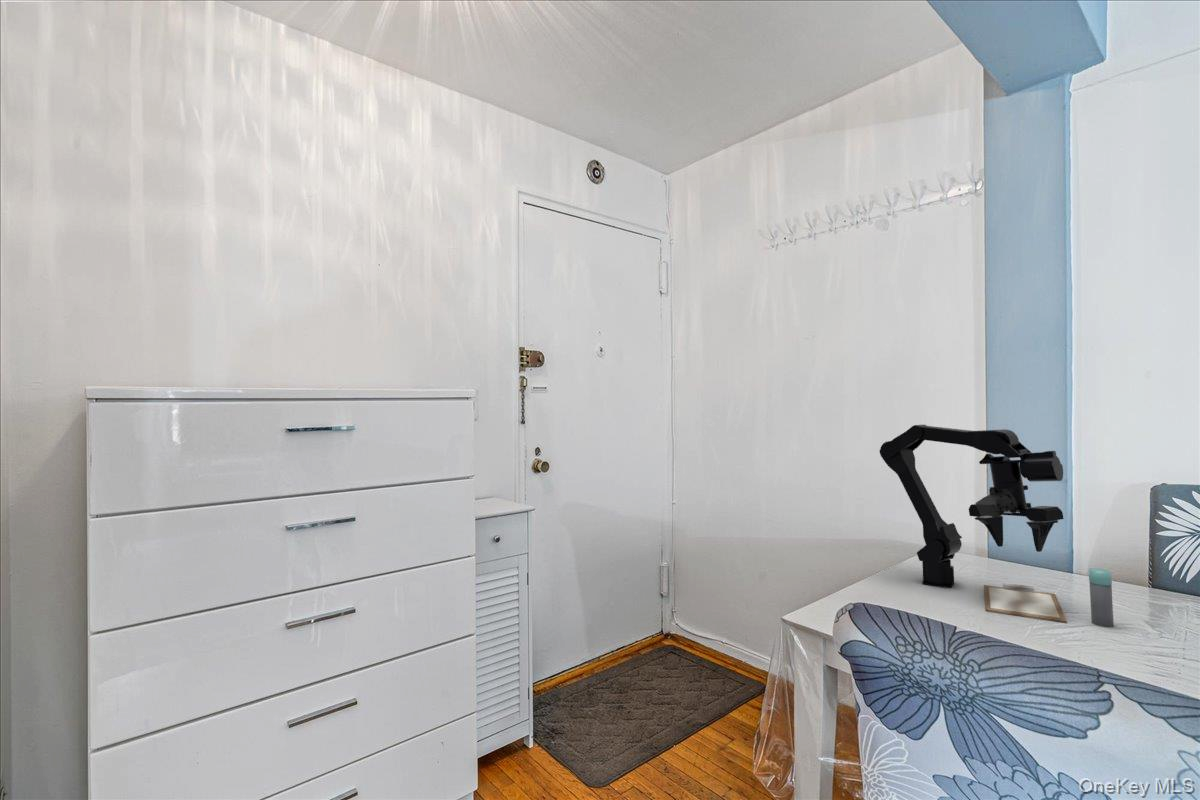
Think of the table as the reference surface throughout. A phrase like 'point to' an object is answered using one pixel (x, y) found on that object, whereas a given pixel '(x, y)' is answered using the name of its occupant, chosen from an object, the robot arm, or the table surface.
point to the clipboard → (1023, 602)
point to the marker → (1101, 597)
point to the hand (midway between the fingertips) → (1019, 548)
